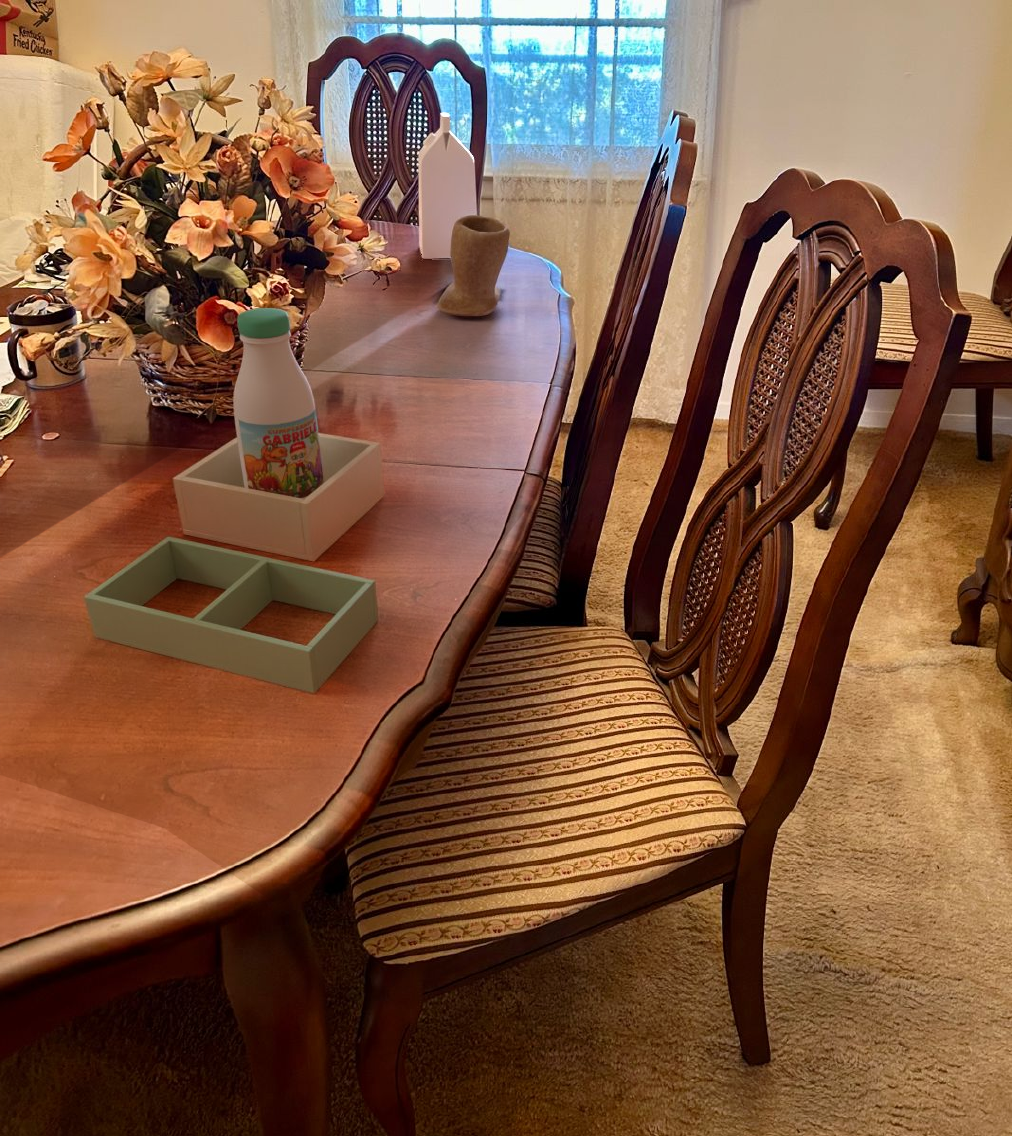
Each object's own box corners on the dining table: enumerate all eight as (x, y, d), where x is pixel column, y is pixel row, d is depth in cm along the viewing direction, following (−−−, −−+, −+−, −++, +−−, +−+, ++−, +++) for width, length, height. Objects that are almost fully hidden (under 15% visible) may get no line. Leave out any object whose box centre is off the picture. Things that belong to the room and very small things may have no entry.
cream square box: (183, 534, 91) (172, 478, 88) (265, 474, 103) (258, 422, 100) (313, 562, 87) (307, 504, 84) (384, 496, 99) (381, 442, 96)
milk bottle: (232, 513, 94) (200, 315, 83) (288, 485, 99) (265, 297, 89) (286, 535, 90) (259, 331, 80) (342, 505, 95) (323, 310, 85)
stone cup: (502, 324, 152) (503, 227, 144) (431, 319, 153) (428, 224, 145) (516, 299, 165) (517, 209, 157) (450, 295, 166) (448, 206, 158)
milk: (479, 258, 190) (477, 117, 177) (422, 259, 189) (417, 118, 175) (472, 245, 200) (471, 111, 187) (419, 246, 199) (413, 111, 186)
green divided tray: (94, 637, 76) (83, 596, 74) (176, 574, 85) (168, 535, 83) (314, 694, 70) (309, 651, 68) (378, 620, 79) (375, 580, 77)
